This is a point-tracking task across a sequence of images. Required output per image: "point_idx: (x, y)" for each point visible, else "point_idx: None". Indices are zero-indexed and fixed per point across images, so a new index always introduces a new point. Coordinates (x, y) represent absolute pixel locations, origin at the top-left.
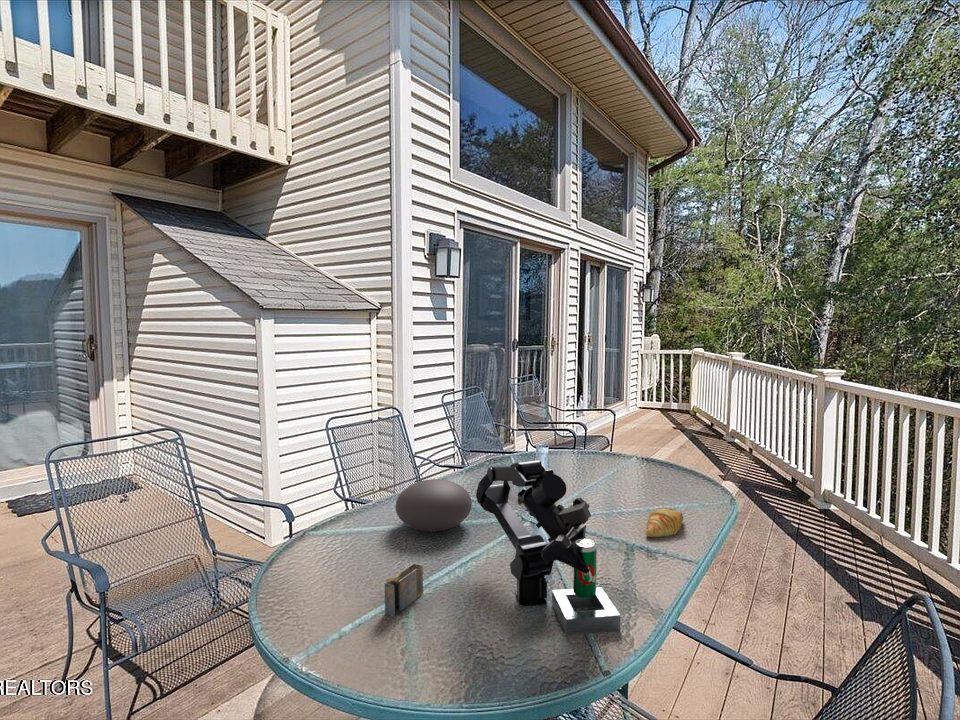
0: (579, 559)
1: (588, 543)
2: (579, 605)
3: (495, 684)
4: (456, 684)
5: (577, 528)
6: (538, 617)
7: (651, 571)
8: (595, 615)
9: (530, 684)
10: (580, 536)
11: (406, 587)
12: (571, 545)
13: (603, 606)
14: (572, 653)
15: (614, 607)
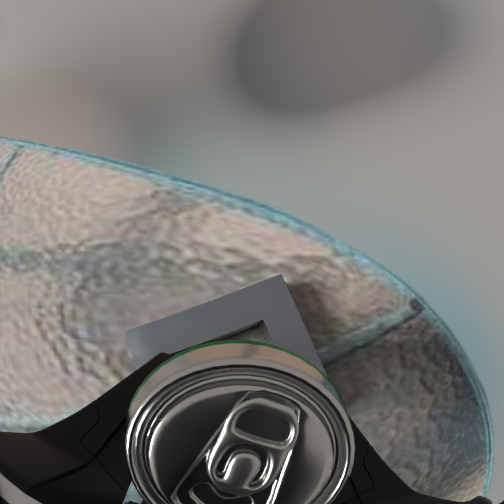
0: (369, 447)
1: (240, 435)
2: None
3: (464, 453)
4: (463, 489)
5: (8, 501)
6: None
7: (24, 212)
8: (305, 345)
9: (462, 413)
10: (79, 488)
11: None
12: (490, 502)
13: (245, 325)
14: (387, 380)
15: (242, 291)
